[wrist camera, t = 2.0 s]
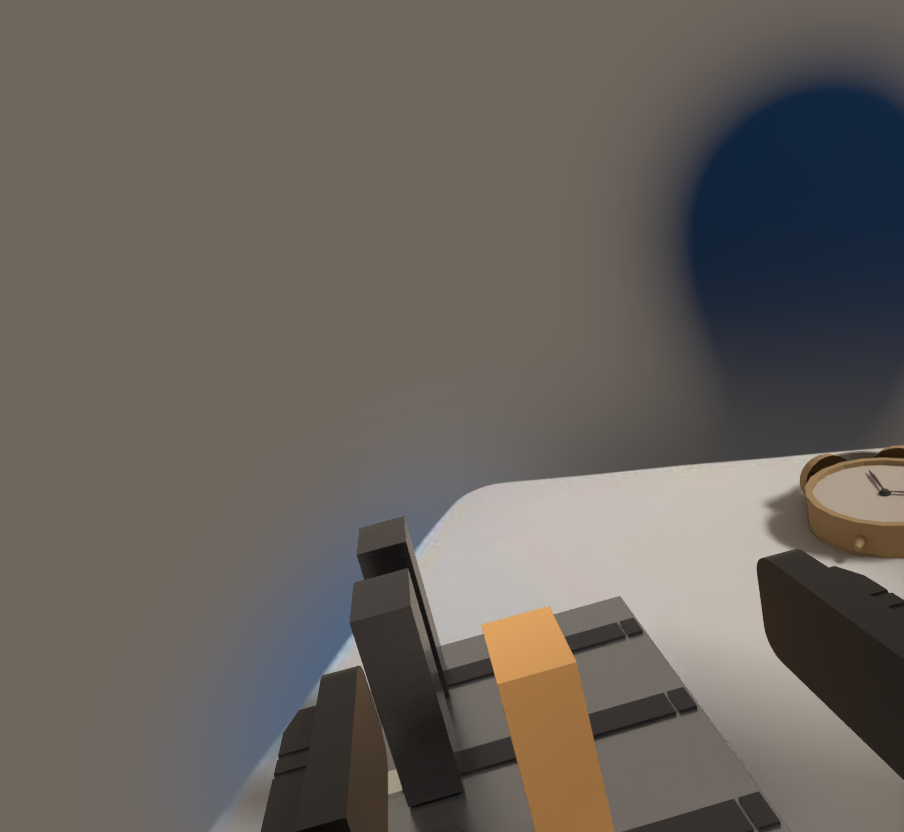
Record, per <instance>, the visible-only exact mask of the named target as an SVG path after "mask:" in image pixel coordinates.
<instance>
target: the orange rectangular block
mask: <svg viewBox="0 0 904 832" xmlns="http://www.w3.org/2000/svg"><path fill="white" fill-rule="evenodd" d="M481 626H482V630H483V633H484V637H485V641H486V645H487V649H488V653H489V656H490V660H491V664H492V668H493V672H494V676H495V679H496V683H497V687H498V691H499V695H500V699H501V702H502V706H503V710H504V714H505V718H506V722H507V725H508V729H509V733H510V737H511V741H512V745H513V748H514V752H515V756H516V760H517V764H518V767H519V771H520V775H521V779H522V783H523V787H524V790H525V794H526V798H527V802H528V806H529V810H530V813H531V817H532V821H533V825H534V829H535V832H614V827H613V823H612V818H611V814H610V809H609V805H608V800H607V796H606V791H605V787H604V782H603V778H602V774H601V769H600V765H599V760H598V756H597V751H596V747H595V742H594V738H593V733H592V729H591V724H590V720H589V715H588V711H587V706H586V702H585V697H584V693H583V688H582V684H581V679H580V675H579V671H578V666H577V662H576V660H575V658H574V656H573V654H572V652H571V650H570V648H569V646H568V644H567V641H566V639H565V637H564V635H563V633H562V631H561V629H560V627H559V625H558V623H557V621H556V619H555V617H554V615H553V613H552V611H551V609H550V607H549V606H548V607H544V608H541V609H537V610H533V611H530V612H526V613H523V614H519V615H515V616H512V617H508V618H505V619H501V620H497V621H494V622H490V623H487V624H483V625H481Z"/></svg>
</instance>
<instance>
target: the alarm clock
mask: <svg viewBox="0 0 904 832" xmlns="http://www.w3.org/2000/svg"><path fill="white" fill-rule="evenodd" d="M800 486H801V489H802V491H803V493H804V494H805V495H806V498H807V504H808V520H809V527H810V529H811V530H812V531H813V533H814V534H815V535H816V536H817V537H818V538H819V539H820V540H822V541H823V542H825V543H827V544H829V545H831V546H832V547H834V548H837V549H841V550H844V551H848V552H851V553H855V554H858V555H866V556H874V557H881V558H904V446H891V447H888V448H885V449H883V450H882V451H880V452H872V451H855V452H846V453H840V454H836V455H832V454H824V455H819V456H817V457H815V458H813V459H811V460H810V461H809V462H808V463H807V464H806V465H805V467H804V468H803V470H802V472H801V475H800Z"/></svg>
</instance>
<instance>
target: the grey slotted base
mask: <svg viewBox="0 0 904 832" xmlns="http://www.w3.org/2000/svg"><path fill="white" fill-rule="evenodd" d="M357 557H358V560H359V564H360V567H361V570H362V573H363V577H364V580H363V581H359V582H355V583H354V587H353V596H352V606H351V615H350V625H351V629H352V632H353V635H354V638H355V641H356V644H357V648H358V651H359V654H360V657H361V660H362V663H363V666H364V670H365V673H366V676H367V679H368V682H369V685H370V688H371V692H372V695H373V698H374V701H375V704H376V707H377V711H378V714H379V717H380V720H381V723H382V733H383V737H384V742H385V747H386V753H387V761H388V832H535V829H534V825H533V821H532V817H531V813H530V810H529V806H528V802H527V798H526V794H525V790H524V787H523V783H522V779H521V775H520V771H519V767H518V764H517V760H516V756H515V752H514V748H513V745H512V741H511V737H510V733H509V729H508V725H507V722H506V718H505V714H504V710H503V706H502V702H501V699H500V695H499V691H498V687H497V683H496V679H495V676H494V672H493V668H492V664H491V660H490V656H489V653H488V649H487V645H486V641H485V637H484V634H482V635H479V636H475V637H471V638H468V639H464V640H461V641H457V642H454V643H450V644H446V645H443V646H441V645H440V642H439V638H438V635H437V631H436V628H435V624H434V621H433V617H432V613H431V610H430V606H429V603H428V599H427V596H426V592H425V589H424V585H423V581H422V578H421V574H420V571H419V567H418V564H417V560H416V557H415V553H414V549H413V546H412V542H411V539H410V535H409V532H408V528H407V525H406V521H405V517H404V516H403V517H400V518H396V519H392V520H388V521H385V522H381V523H378V524H374V525H370V526H366V527H362V528H360V529H359V538H358V548H357ZM554 617H555V619H556V621H557V623H558V625H559V627H560V629H561V631H562V633H563V635H564V637H565V639H566V641H567V644H568V646H569V648H570V650H571V652H572V654H573V656H574V658H575V660H576V662H577V666H578V671H579V675H580V679H581V684H582V688H583V693H584V697H585V702H586V706H587V711H588V715H589V720H590V724H591V729H592V733H593V738H594V742H595V747H596V751H597V756H598V760H599V765H600V769H601V774H602V778H603V782H604V787H605V791H606V796H607V800H608V805H609V809H610V814H611V818H612V823H613V827H614V832H791V831H790V829H789V828H788V826H787V825H786V824H785V822H784V821H783V820H782V818H781V817H780V815H779V814H778V813H777V811H776V810H775V809H774V807H773V806H772V804H771V803H770V802H769V800H768V799H767V798H766V796H765V795H764V793H763V792H762V791H761V789H760V788H759V787H758V785H757V784H756V782H755V781H754V780H753V778H752V777H751V776H750V774H749V773H748V771H747V770H746V769H745V767H744V766H743V765H742V763H741V762H740V760H739V759H738V758H737V756H736V755H735V754H734V752H733V751H732V749H731V748H730V747H729V745H728V744H727V743H726V741H725V740H724V738H723V737H722V736H721V734H720V733H719V732H718V730H717V729H716V727H715V726H714V725H713V723H712V722H711V721H710V719H709V718H708V716H707V715H706V714H705V712H704V711H703V710H702V708H701V707H700V705H699V704H698V703H697V701H696V700H695V699H694V697H693V696H692V694H691V693H690V692H689V690H688V689H687V688H686V686H685V685H684V683H683V682H682V681H681V679H680V678H679V677H678V675H677V674H676V672H675V671H674V670H673V668H672V667H671V666H670V664H669V663H668V661H667V660H666V659H665V657H664V656H663V655H662V653H661V652H660V650H659V649H658V648H657V646H656V645H655V644H654V642H653V641H652V639H651V638H650V637H649V635H648V634H647V633H646V631H645V630H644V628H643V627H642V626H641V624H640V623H639V622H638V620H637V619H636V617H635V616H634V615H633V613H632V612H631V611H630V609H629V608H628V606H627V605H626V604H625V602H624V601H623V600H622V598H621V597H620V596H619V597H615V598H611V599H608V600H604V601H601V602H597V603H593V604H590V605H586V606H583V607H579V608H576V609H572V610H568V611H565V612H561V613H558V614H554Z"/></svg>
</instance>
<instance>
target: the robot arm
mask: <svg viewBox="0 0 904 832" xmlns="http://www.w3.org/2000/svg"><path fill="white" fill-rule="evenodd" d="M757 576H758V583H759V591H760V598H761V606H762V613H763V621H764V628H765V632H766V636H767V639H768V641H769V643H770V645H771V647H772V649H773V651H774V653H775V654H776V656H777V657H778V658H779V659H780V661H781V662H782V663H783V664H784V665H785V666H786V667H788V668H789V669H790V670H791V671H792V672H793V673H794V674H795V675H796V676H797V677H798V678H799V679H800V680H801V681H802V682H803V683H804V684H805V685H806V686H807V687H808V688H809V689H810V690H811V691H812V692H813V693H814V694H815V695H816V696H817V697H819V698H820V699H821V700H822V701H823V702H824V703H825V704H826V705H827V706H828V707H829V708H830V709H831V710H832V711H833V712H834V713H835V714H836V715H837V716H838V717H839V718H840V719H841V720H842V721H843V722H844V723H845V724H846V725H847V726H849V727H850V728H851V729H852V730H853V731H854V732H855V733H856V734H857V735H858V736H859V737H860V738H861V739H862V740H863V741H864V742H865V743H866V744H867V745H868V746H869V747H870V748H871V749H872V750H873V751H874V752H875V753H876V754H877V755H878V756H880V757H881V758H882V759H883V760H884V761H885V762H886V763H887V764H888V765H889V766H890V767H891V768H892V769H893V770H894V771H895V772H896V773H897V774H898V775H899V776H900V777H901V778H902V779H903V780H904V600H903V599H901V598H900V597H898V596H897V595H895V594H893V593H888V591H887V589H885V588H884V587H882V586H880V585H879V584H877V583H876V582H874V581H872V580H871V579H869V578H867V577H866V576H864V575H861V574H858V573H855V572H852V571H848V570H845V569H842V568H839V567H836V566H833V567H829V568H828V567H827V566H825V565H824V564H822V563H821V562H819V561H818V560H816V559H815V558H813V557H811V556H810V555H808V554H807V553H805V552H804V551H802V550H799V549H794V550H791V551H787V552H783V553H779V554H776V555H772V556H768V557H765V558H761V559H760V560H759V561H758V563H757ZM278 756H279V760H277V764H276V768H275V772H274V777H275V779H273V781H272V785H271V790H270V794H269V798H268V803H267V807H266V811H265V816H264V820H263V825H262V829H261V832H388V761H387V753H386V747H385V742H384V737H383V733H382V730H381V727H380V723H379V720H378V717H377V713H376V710H375V707H374V704H373V700H372V697H371V694H370V690H369V687H368V684H367V681H366V677H365V674H364V672H363V669H362V668H361V666H356V667H352V668H349V669H345V670H341V671H338V672H334V673H330V674H326V675H323V676H322V678H321V681H320V687H319V693H318V699H317V705H316V706H313V707H310V708H306V709H302V710H299V711H298V713H297V714H296V715H295V717H294V718H293V720H292V721H291V723H290V724H289V726H288V727H287V729H286V730H285V732H284V733H283V738H282V742H281V746H280V751H279V755H278Z"/></svg>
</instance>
